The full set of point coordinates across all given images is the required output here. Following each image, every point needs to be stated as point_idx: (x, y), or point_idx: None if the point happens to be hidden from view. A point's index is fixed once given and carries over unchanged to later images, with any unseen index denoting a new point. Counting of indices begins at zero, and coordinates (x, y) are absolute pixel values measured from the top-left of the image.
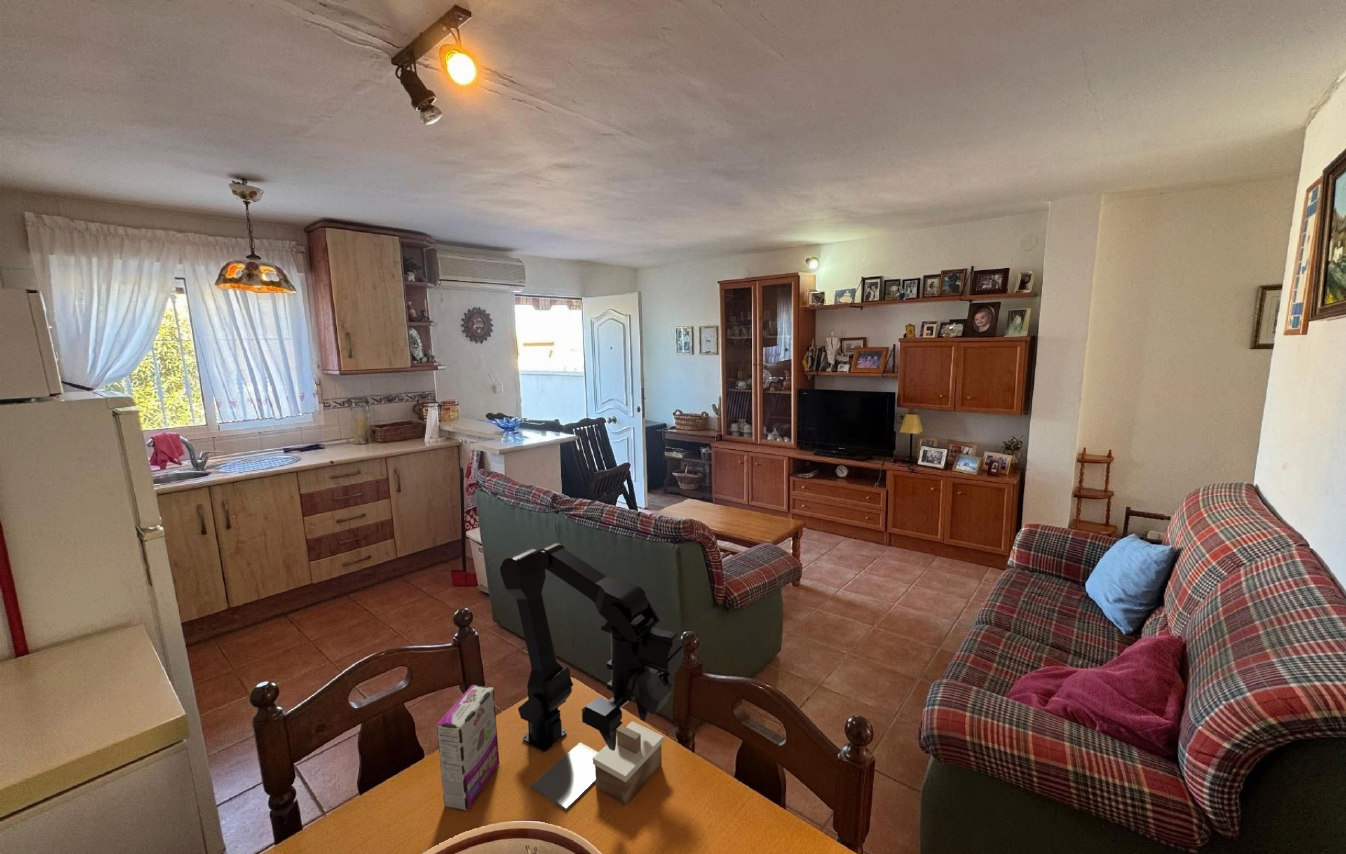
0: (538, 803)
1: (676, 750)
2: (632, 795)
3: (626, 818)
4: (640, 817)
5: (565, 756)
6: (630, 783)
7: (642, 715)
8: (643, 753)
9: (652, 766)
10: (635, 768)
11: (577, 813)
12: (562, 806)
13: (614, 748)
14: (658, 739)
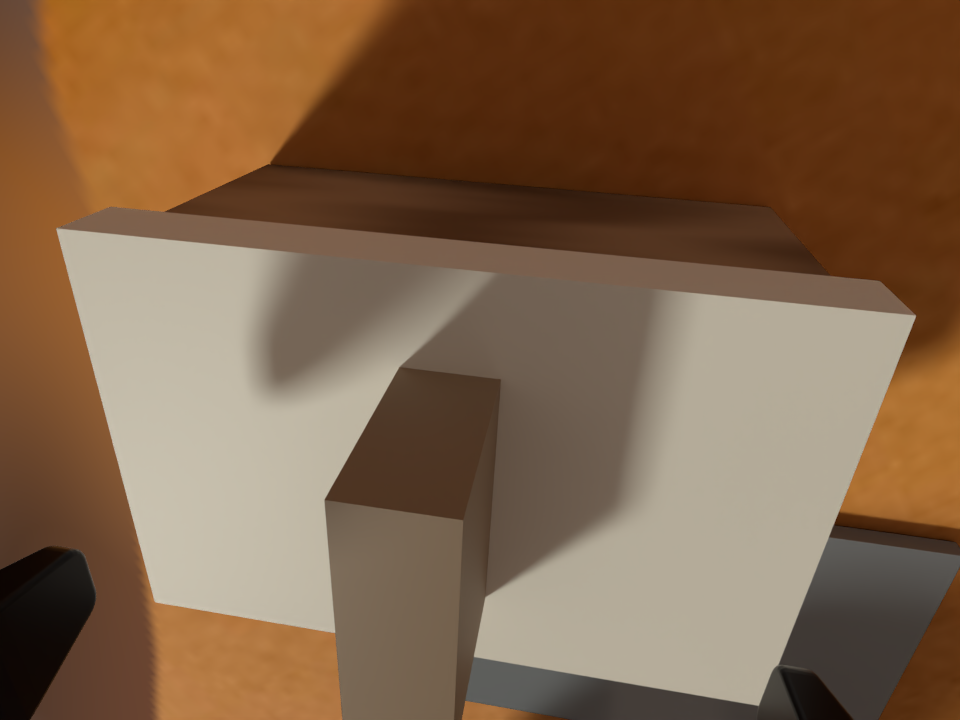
0: (942, 685)
1: (69, 138)
2: (679, 206)
3: (895, 129)
4: (844, 15)
5: (575, 715)
6: (727, 252)
7: (29, 639)
8: (441, 305)
9: (366, 197)
10: (677, 276)
11: (955, 475)
12: (948, 579)
13: (824, 701)
14: (140, 256)
